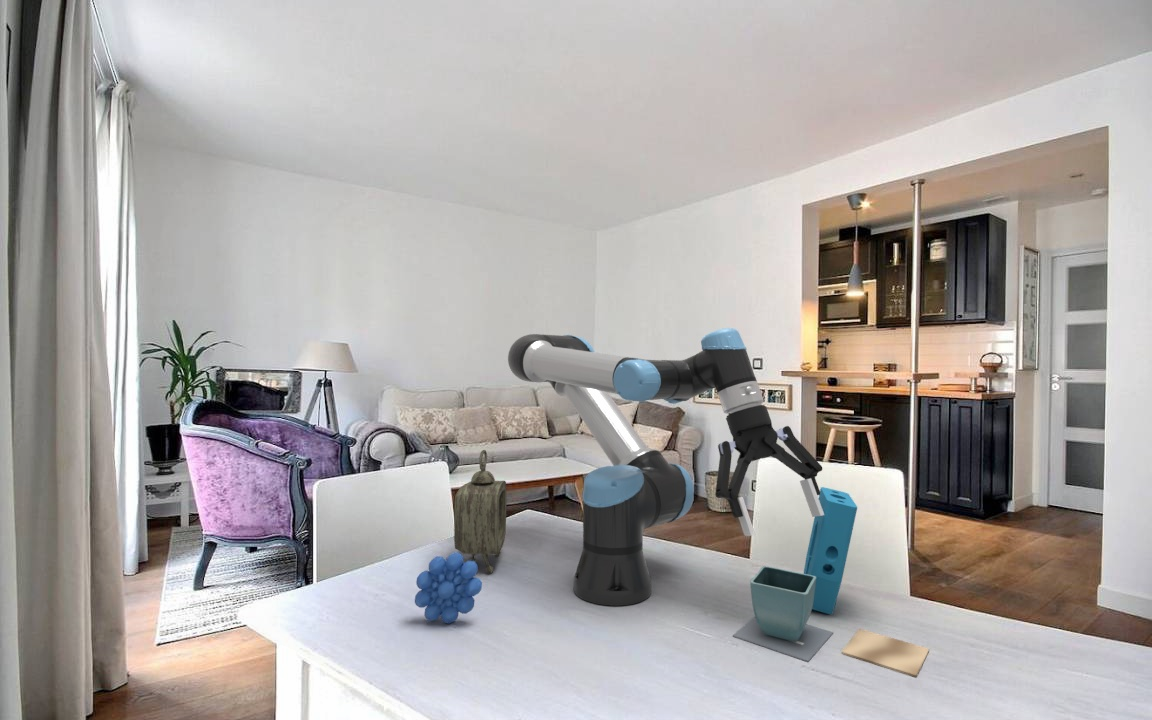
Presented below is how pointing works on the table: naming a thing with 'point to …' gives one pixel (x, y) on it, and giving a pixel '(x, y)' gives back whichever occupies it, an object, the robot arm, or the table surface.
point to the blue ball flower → (448, 588)
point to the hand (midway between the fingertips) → (784, 525)
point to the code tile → (800, 649)
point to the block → (830, 546)
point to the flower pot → (782, 601)
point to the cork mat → (886, 652)
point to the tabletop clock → (480, 515)
